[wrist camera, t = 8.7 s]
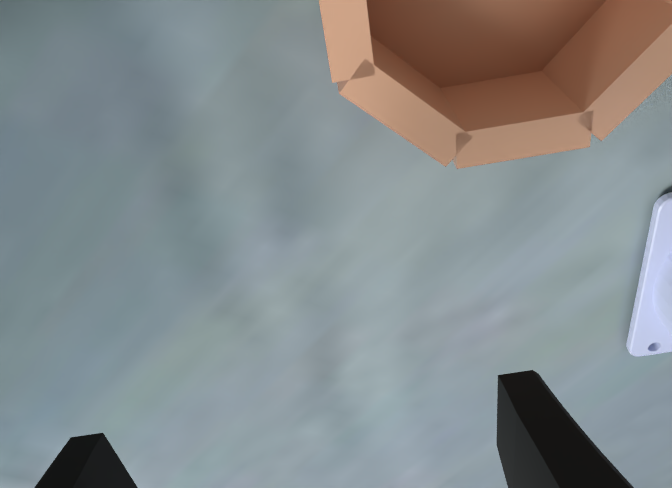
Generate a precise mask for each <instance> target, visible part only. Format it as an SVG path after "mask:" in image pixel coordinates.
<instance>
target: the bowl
mask: <svg viewBox="0 0 672 488" xmlns="http://www.w3.org/2000/svg"><path fill="white" fill-rule="evenodd" d="M319 4H320V10H321V16H322V22H323V29H324V35H325V41H326V47H327V53H328V59H329V65H330V71H331V77H332V83H334V82H337V84H338V90H339V94H341V95H342V96H343V97H345V98H346V99H348V100H349V101H351V102H352V103H354V104H355V105H357V106H358V107H359V108H361V109H362V110H364V111H365V112H367V113H368V114H370V115H371V116H373V117H374V118H375V119H377V120H378V121H380V122H381V123H383V124H384V125H386V126H387V127H389V128H390V129H392V130H393V131H394V132H396V133H397V134H399V135H400V136H402V137H403V138H405V139H406V140H408V141H409V142H410V143H412V144H413V145H415V146H416V147H418V148H419V149H421V150H422V151H424V152H425V153H426V154H428V155H429V156H431V157H432V158H434V159H435V160H437V161H438V162H440V163H441V164H442V165H444V166H445V167H446V166H447V165H448V164H449V163H450V162H451V161H452V160H453V162H454V164H455V166H456V168H457V169H459V168H465V167H471V166H477V165H484V164H490V163H496V162H502V161H508V160H514V159H520V158H526V157H532V156H538V155H544V154H550V153H556V152H563V151H569V150H575V149H581V148H587V147H590V140H591V133H592V134H593V135H595V136H596V137H597V138H598V139H599V140H601V141H602V140H603V139H604V138H605V137H606V136H607V135H608V134H609V133H610V132H611V131H613V130H614V129H615V128H616V127H617V126H618V125H619V124H620V123H621V122H622V121H623V120H624V119H625V118H626V117H627V116H628V115H629V114H630V113H631V112H632V111H633V110H635V109H636V108H637V107H638V106H639V105H640V104H641V103H642V102H643V101H644V100H645V99H646V98H647V97H648V96H649V95H650V94H651V93H652V92H653V91H654V90H655V89H657V88H658V87H659V86H660V85H661V84H662V83H663V82H664V81H665V80H666V79H667V78H668V77H669V76H670V75H671V74H672V0H319Z"/></svg>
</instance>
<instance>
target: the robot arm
mask: <svg viewBox="0 0 672 488" xmlns="http://www.w3.org/2000/svg"><path fill="white" fill-rule="evenodd" d="M626 346H627V349H628V350H629V352H630V353H631V354H632V355H634V356H645V355H652V354H659V353H665V352H672V192H670V193H667V194H664V195H663V196H661V197H660V198H659V199H658V200H657V201H656V202H655V205H654V207H653V212H652V218H651V223H650V228H649V233H648V238H647V243H646V248H645V253H644V258H643V263H642V268H641V273H640V278H639V283H638V288H637V293H636V299H635V304H634V309H633V314H632V319H631V324H630V329H629V334H628V339H627V344H626ZM497 448H498V451H499V455H500V459H501V463H502V466H503V470H504V474H505V478H506V481H507V485H508V488H633V486H632V485H631V484H630V483H629V482H628V481H627V480H626V479H625V478H624V477H623V475H622V474H621V473H620V472H619V471H618V470H617V469H616V468H615V467H614V466H613V464H612V463H611V462H610V461H609V460H608V459H607V458H606V457H605V456H604V455H603V453H602V452H601V451H600V450H599V449H598V448H597V447H596V445H595V444H594V443H593V442H592V441H591V440H590V438H589V437H588V436H587V435H586V434H585V432H584V431H583V430H582V429H581V428H580V426H579V425H578V424H577V423H576V422H575V421H574V419H573V418H572V417H571V416H570V414H569V413H568V412H567V411H566V409H565V408H564V407H563V406H562V404H561V403H560V402H559V401H558V399H557V398H556V397H555V395H554V394H553V393H552V392H551V390H550V389H549V388H548V386H547V385H546V384H545V382H544V381H543V380H542V378H541V377H540V375H539V374H538V373H536V372H535V371H533V370H530V371H524V372H517V373H510V374H503V375H498V404H497ZM35 488H137V486H136V484H135V483H134V481H133V480H132V478H131V477H130V475H129V473H128V472H127V470H126V469H125V467H124V465H123V464H122V462H121V461H120V459H119V457H118V456H117V454H116V453H115V451H114V449H113V448H112V446H111V445H110V443H109V442H108V440H107V438H106V437H105V435H104V434H103V433H99V434H92V435H85V436H78V437H71V438H70V439H69V441H68V442H67V444H66V445H65V446H64V448H63V449H62V450H61V452H60V453H59V454H58V456H57V457H56V458H55V460H54V461H53V463H52V464H51V465H50V467H49V468H48V470H47V471H46V472H45V474H44V475H43V477H42V478H41V479H40V481H39V482H38V484H37V485H36V486H35Z"/></svg>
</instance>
